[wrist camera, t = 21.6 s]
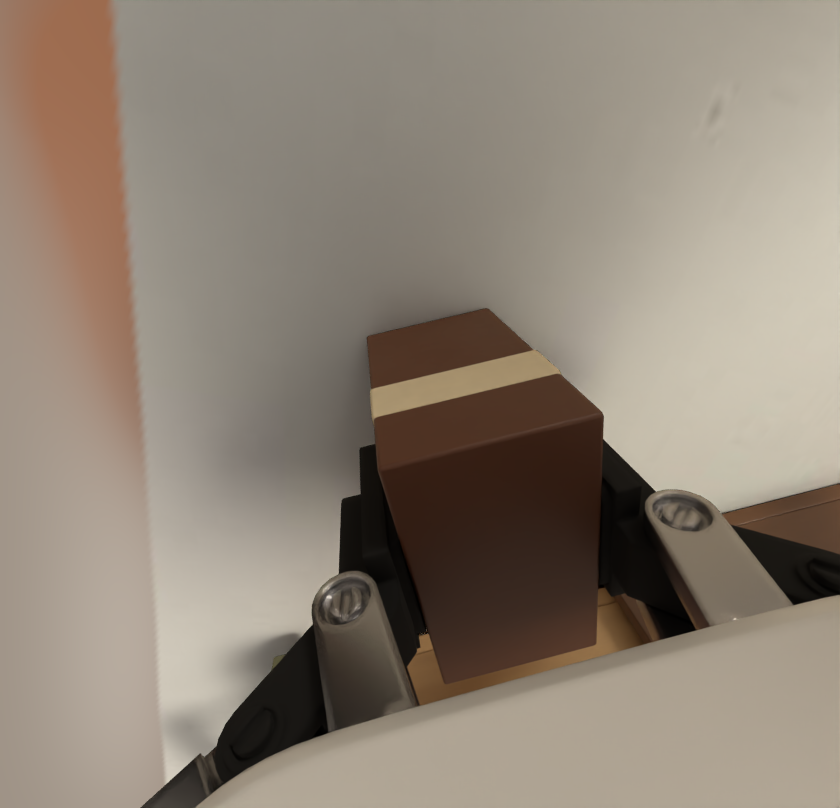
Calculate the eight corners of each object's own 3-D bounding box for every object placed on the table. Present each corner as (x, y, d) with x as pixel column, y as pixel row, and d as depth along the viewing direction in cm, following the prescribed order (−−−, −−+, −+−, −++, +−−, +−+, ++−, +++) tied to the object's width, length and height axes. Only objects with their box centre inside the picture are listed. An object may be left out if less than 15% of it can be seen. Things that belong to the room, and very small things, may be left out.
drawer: (266, 803, 25) (226, 1084, 17) (153, 687, 18) (4, 1059, 10) (629, 704, 25) (750, 930, 18) (647, 559, 19) (850, 817, 11)
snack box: (410, 500, 16) (443, 688, 10) (364, 335, 13) (374, 468, 7) (508, 475, 16) (598, 646, 10) (488, 305, 13) (607, 411, 7)
